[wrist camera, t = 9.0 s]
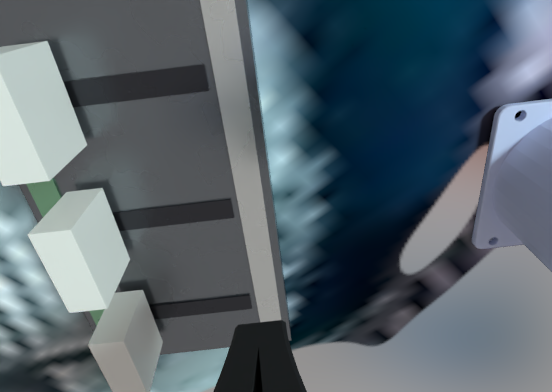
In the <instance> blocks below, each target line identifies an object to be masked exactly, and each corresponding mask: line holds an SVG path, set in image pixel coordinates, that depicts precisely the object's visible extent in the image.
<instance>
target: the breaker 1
mask: <svg viewBox="0 0 552 392" xmlns="http://www.w3.org/2000/svg"><path fill="white" fill-rule="evenodd" d="M86 146H87V143H86V140H85V138H84V135H83V132H82V130H81V127H80V125H79V122H78V119H77V117H76V114H75V111H74V109H73V106H72V104H71V101H70V98H69V96H68V93H67V91H66V88H65V85H64V83H63V80H62V78H61V75H60V72H59V70H58V67H57V65H56V62H55V59H54V57H53V54H52V52H51V49H50V46H49V44H48V41H42V42H34V43H26V44H18V45H10V46H3V47H0V181H1V183H2V185H3V186H10V185H19V184H27V183H36V182H44V181H50V180H51V179H52V178H53V177H54V176H55V175H56V174H58V173H59V172H60V171H61V170H62V169H63V168H64V167H65V166H66V165H67V164H68V163H69V162H70V161H71V160H72V159H73V158H74V157H75V156H76V155H77V154H78V153H79V152H81V151H82V150H83V149H84V148H85V147H86Z"/></svg>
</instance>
